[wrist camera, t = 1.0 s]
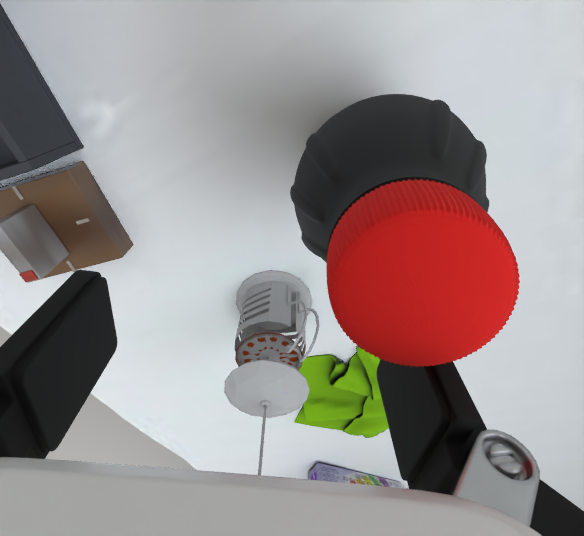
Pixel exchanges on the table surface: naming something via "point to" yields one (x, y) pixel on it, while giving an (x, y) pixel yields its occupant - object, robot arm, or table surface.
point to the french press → (270, 347)
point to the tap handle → (30, 243)
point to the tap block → (71, 215)
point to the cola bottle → (405, 230)
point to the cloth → (343, 394)
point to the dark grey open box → (28, 111)
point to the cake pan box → (348, 476)
